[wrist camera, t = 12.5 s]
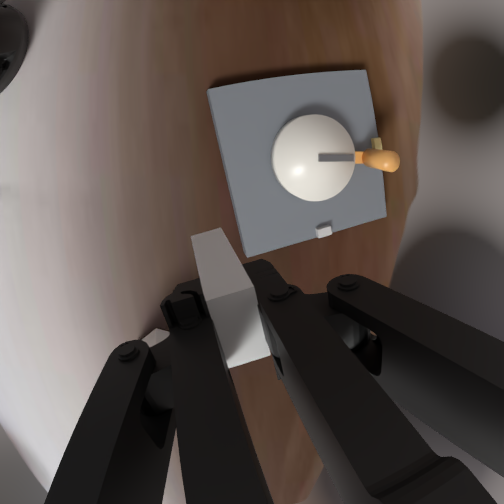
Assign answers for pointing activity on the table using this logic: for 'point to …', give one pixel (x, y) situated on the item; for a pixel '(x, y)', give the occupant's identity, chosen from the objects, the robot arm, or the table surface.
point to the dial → (321, 157)
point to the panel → (259, 155)
